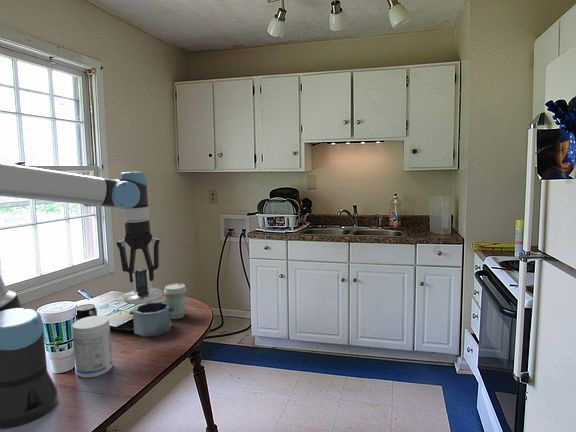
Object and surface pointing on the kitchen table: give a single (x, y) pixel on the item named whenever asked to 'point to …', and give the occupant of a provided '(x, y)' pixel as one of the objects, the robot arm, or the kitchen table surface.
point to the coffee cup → (176, 299)
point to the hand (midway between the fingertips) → (143, 290)
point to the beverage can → (86, 311)
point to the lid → (142, 290)
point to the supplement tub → (92, 346)
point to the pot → (152, 318)
